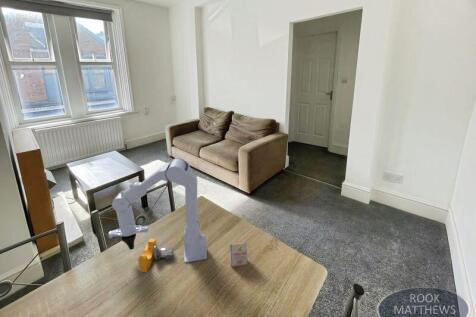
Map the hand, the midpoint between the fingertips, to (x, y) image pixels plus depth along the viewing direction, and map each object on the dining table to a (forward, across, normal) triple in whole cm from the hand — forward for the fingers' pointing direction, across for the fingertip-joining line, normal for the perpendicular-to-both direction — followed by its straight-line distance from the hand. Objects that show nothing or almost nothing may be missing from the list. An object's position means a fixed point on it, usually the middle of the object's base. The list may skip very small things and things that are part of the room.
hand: (132, 247), depth 100 cm
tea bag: (+6, -43, +13) cm, 45 cm away
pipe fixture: (+6, -13, +2) cm, 14 cm away
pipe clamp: (+6, -6, +3) cm, 9 cm away
